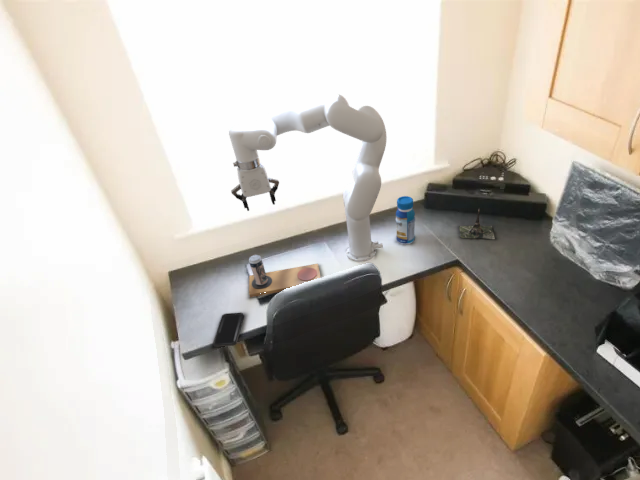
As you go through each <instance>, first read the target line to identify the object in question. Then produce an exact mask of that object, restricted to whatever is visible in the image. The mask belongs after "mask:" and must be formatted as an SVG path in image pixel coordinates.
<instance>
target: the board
mask: <svg viewBox="0 0 640 480" xmlns="http://www.w3.org/2000/svg"><path fill="white" fill-rule="evenodd" d="M320 271H321V270H320V266H319V263H313V264H308V265H302V266H296V267H290V268H285V269H279V270H273V271H268V272H266V276H267V279H268V281H267V283H265V284H263V285H258V284H256V281H255V278H254V275H253V274H252V275H249V277H248V296H249V298H254V297H261V296H266V295H271V294H277V293H281V292H280V291H282V290H284V289H286V288H290V287H292V286H296V285H299V284H302V283H304V282H308V281H311V280H314V279H317V278H320V277H321V276H322V275H321V272H320ZM264 292H266V293H264ZM282 292H283V291H282ZM260 293H261V294H260Z"/></svg>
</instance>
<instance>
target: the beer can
mask: <svg viewBox="0 0 640 480" xmlns="http://www.w3.org/2000/svg"><path fill="white" fill-rule="evenodd" d="M248 263H249V267H250V269H251V272H252V275H254V278H255V281H256V284H258V285H263V284H265V283H267V281H268V279H267V276H266V273H267V272H266V270H265V266H264V263H263V259H262V257H261V255H259V254H252V255H251V256H249V258H248Z"/></svg>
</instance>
